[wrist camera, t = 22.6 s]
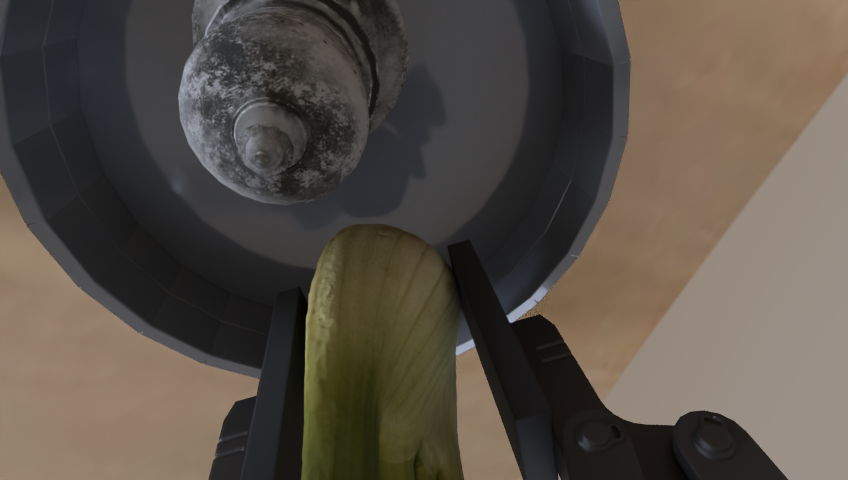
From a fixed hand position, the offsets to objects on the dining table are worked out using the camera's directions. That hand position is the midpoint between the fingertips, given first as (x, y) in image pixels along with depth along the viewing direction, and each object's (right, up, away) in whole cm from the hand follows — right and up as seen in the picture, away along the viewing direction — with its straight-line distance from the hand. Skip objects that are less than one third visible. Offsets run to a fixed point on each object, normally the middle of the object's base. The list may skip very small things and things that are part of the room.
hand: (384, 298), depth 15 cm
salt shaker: (-3, +9, +1) cm, 10 cm away
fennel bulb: (0, +1, +2) cm, 2 cm away
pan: (-2, +6, +3) cm, 7 cm away
